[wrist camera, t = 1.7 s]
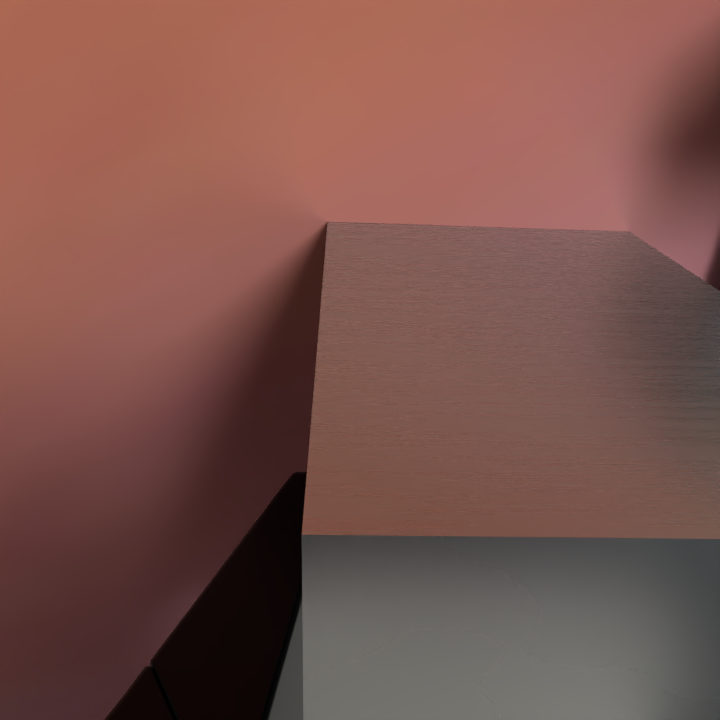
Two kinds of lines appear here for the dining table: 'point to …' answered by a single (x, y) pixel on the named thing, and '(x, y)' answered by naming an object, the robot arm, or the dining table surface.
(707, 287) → the bracket
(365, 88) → the dining table surface
